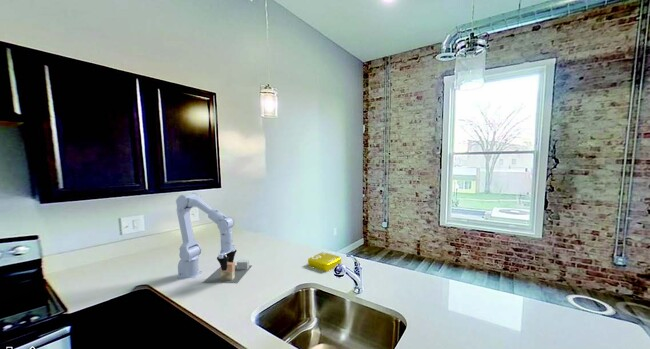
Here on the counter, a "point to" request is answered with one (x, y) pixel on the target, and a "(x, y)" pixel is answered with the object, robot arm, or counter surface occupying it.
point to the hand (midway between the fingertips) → (227, 267)
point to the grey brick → (243, 264)
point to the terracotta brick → (229, 267)
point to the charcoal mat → (217, 279)
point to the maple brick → (227, 275)
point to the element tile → (324, 261)
